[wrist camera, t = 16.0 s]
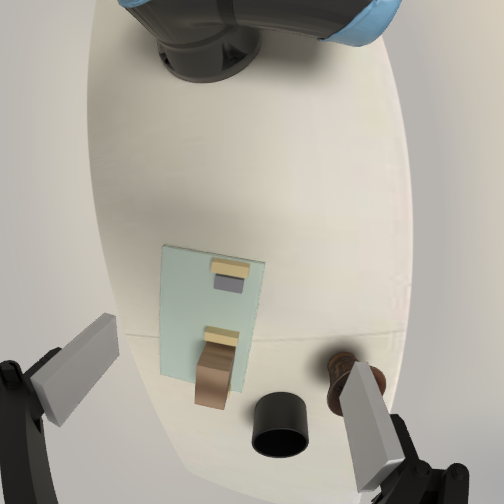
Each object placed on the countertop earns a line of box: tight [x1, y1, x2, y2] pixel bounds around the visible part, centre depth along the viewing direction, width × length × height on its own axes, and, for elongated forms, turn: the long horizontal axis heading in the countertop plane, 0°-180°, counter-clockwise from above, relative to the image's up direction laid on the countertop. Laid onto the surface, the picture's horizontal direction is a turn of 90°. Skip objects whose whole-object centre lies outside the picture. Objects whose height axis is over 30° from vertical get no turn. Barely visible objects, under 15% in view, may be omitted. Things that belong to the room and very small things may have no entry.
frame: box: [195, 341, 236, 410], centre depth 40 cm, size 8×5×8 cm, turn 171°
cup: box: [327, 352, 386, 417], centre depth 38 cm, size 9×9×10 cm
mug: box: [252, 392, 309, 458], centre depth 42 cm, size 9×12×9 cm
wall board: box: [160, 245, 265, 397], centre depth 42 cm, size 24×15×3 cm, turn 171°
